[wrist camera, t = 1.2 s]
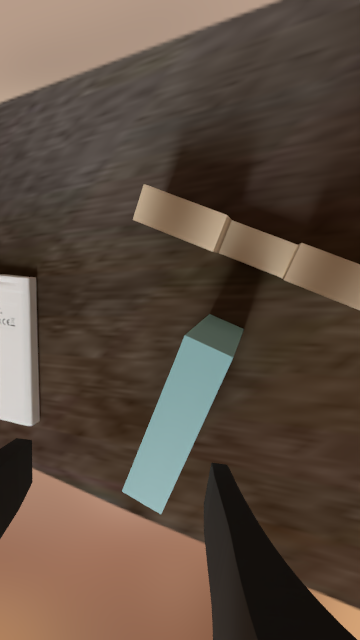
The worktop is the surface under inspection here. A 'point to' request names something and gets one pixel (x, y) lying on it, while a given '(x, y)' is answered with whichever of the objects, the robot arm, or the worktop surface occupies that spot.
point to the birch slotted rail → (251, 246)
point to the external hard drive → (19, 350)
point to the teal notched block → (182, 410)
